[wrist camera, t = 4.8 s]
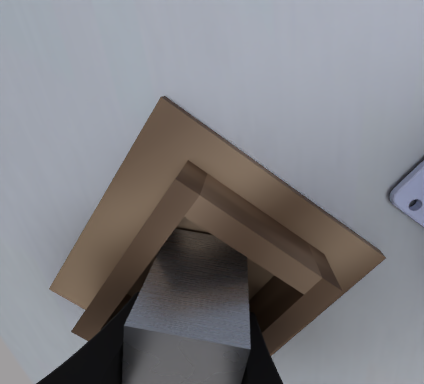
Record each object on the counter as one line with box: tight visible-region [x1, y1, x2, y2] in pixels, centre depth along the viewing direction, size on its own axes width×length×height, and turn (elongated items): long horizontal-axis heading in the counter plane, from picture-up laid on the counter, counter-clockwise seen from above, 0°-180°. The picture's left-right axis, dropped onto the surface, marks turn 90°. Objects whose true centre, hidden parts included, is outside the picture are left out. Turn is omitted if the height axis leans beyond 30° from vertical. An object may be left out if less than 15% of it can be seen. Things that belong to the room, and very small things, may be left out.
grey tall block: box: [122, 229, 251, 384], centre depth 11 cm, size 4×5×6 cm
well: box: [49, 96, 386, 356], centre depth 13 cm, size 12×12×3 cm
